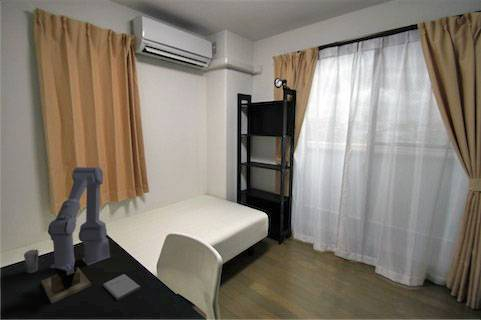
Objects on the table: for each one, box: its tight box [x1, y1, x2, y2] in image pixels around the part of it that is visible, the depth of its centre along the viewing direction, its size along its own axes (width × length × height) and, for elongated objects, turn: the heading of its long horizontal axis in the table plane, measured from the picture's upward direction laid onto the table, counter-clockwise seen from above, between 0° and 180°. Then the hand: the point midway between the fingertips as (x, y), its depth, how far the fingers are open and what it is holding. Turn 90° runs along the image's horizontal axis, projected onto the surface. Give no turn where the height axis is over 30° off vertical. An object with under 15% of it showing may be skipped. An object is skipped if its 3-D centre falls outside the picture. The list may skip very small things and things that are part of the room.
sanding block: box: [51, 269, 81, 294], centre depth 84 cm, size 8×4×4 cm, turn 141°
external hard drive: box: [102, 273, 141, 301], centre depth 86 cm, size 2×8×12 cm
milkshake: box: [23, 249, 39, 274], centre depth 94 cm, size 4×5×10 cm
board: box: [41, 266, 92, 304], centre depth 87 cm, size 12×16×1 cm
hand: (66, 284), depth 84 cm, fingers closed on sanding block, 4 cm apart
